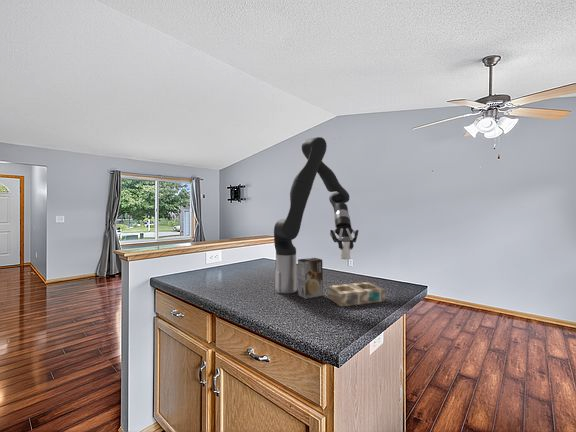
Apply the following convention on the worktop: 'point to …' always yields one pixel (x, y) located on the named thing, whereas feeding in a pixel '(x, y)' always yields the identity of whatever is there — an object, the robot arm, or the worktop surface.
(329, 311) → the worktop surface
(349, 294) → the socket block
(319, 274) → the coffee box
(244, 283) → the worktop surface
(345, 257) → the plug
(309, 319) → the worktop surface
